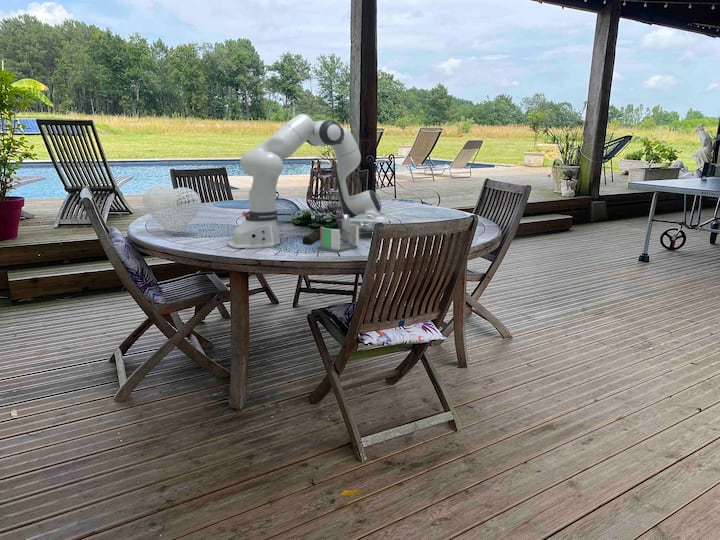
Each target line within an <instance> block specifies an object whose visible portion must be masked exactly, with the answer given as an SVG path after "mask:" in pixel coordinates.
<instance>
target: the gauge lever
mask: <svg viewBox="0 0 720 540" xmlns="http://www.w3.org/2000/svg"><path fill="white" fill-rule="evenodd" d="M349 218H350V217H349V215H348V214H344V213H343V214H341V215H338V216H332V217H331V216H330V217H320V218H319V220H320V222H323V221H328V220H335V219H336V220H337V219H341V241H342V242H349V243H350V244H353V245H357V246H358V245H359V243H360V228H359V225H355V224H349Z"/></svg>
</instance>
